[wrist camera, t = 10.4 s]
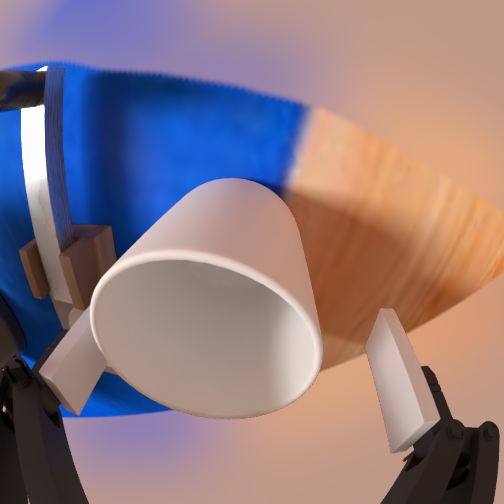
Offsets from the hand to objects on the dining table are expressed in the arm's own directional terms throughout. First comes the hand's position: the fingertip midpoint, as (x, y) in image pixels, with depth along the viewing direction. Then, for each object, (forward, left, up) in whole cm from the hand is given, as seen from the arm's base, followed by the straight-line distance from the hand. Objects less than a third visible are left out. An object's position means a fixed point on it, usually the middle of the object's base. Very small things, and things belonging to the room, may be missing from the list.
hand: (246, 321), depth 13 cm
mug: (0, 0, -6) cm, 6 cm away
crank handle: (-13, +6, -4) cm, 15 cm away
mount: (-13, 0, -6) cm, 15 cm away
